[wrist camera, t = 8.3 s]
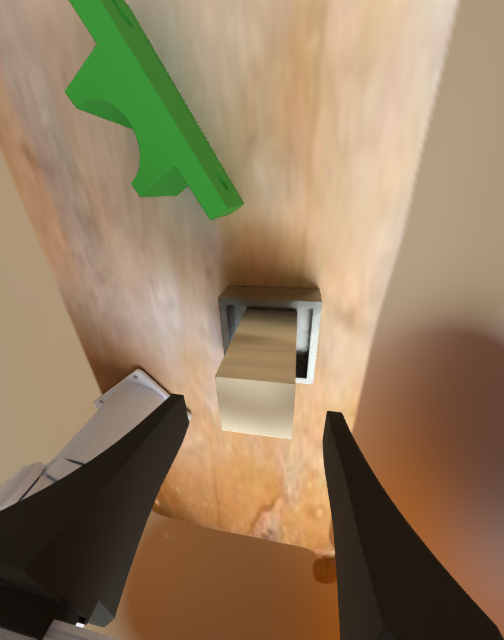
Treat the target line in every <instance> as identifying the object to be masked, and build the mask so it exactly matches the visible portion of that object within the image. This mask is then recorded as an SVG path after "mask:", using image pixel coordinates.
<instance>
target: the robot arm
mask: <svg viewBox="0 0 504 640" xmlns="http://www.w3.org/2000/svg"><path fill="white" fill-rule="evenodd" d="M94 405H95V406H96V407H97V408H98V409H99V410H98V411H97V412H96V413H95V414H94V415H93V416H92V417H91V418H90V419H89V420H88V422H87V423H86V424H85V425H84V426H83V427H82V428H81V429H80V430H79V431H78V432H77V434H76V435H75V436H74V437H73V438H72V439H71V440H70V441H69V442H68V443H67V444H66V445H65V446H64V447H63V449H62V450H61V451H60V452H59V453H58V454H57V455H56V456H55V457H54V458H53V459H52V461H51V462H49V463H48V464H46V465H44V464H42V463H41V462H36V463H34V464H29V465H25V466H23V467H22V468H20V469H19V470H18V471H17V472H15V473H14V474H13V475H12V476H11V477H10V478H9V479H7V480H6V481H5V482H4V483H3V484H2V485H1V486H0V640H121V639H117V638H114V637H110V636H107V635H104V634H101V633H98V632H94V631H91V630H88V629H84V628H83V626H84V625H86V624H87V623H90V624H93V625H97V626H100V627H105V626H106V625H108V624H109V623H110V622H111V621H112V620H113V619H114V618H115V615H116V611H117V608H118V605H119V602H120V599H121V595H122V592H123V589H124V586H125V583H126V579H127V576H128V573H129V570H130V567H131V564H132V562H133V559H134V556H135V553H136V550H137V547H138V544H139V541H140V539H141V536H142V533H143V530H144V528H145V525H146V522H147V519H148V517H149V514H150V512H151V509H152V507H153V504H154V501H155V499H156V496H157V494H158V492H159V490H160V487H161V485H162V483H163V481H164V479H165V477H166V475H167V473H168V471H169V469H170V467H171V465H172V463H173V461H174V459H175V457H176V455H177V453H178V451H179V449H180V446H181V444H182V442H183V439H184V437H185V434H186V431H187V428H188V425H189V420H190V419H191V417H192V415H191V414H190V413H189V412H188V411H187V409H186V404H185V400H184V395H179V394H172V395H171V396H170V395H169V394H168V393H167V392H166V391H165V390H164V389H162V388H161V387H160V386H159V385H158V384H157V383H156V382H155V381H154V380H152V379H151V378H150V377H149V376H148V375H147V374H146V373H145V372H144V371H142V370H141V369H136V370H135V371H134V372H132V373H131V374H130V375H128V376H127V377H126V378H124V379H123V380H122V381H120V382H119V383H118V384H116V385H115V386H114V387H112V388H111V389H110V390H108V391H107V392H106V393H104V394H103V395H102V396H100V397H99V398H98V399H97V400H95V401H94ZM323 458H324V468H325V475H326V481H327V488H328V494H329V501H330V508H331V514H332V522H333V530H334V543H335V557H336V572H337V586H338V587H337V588H338V604H339V622H340V640H504V639H503V637H502V635H501V633H500V631H499V629H498V627H497V626H496V625H495V624H494V623H493V622H492V620H491V619H490V618H489V617H488V616H487V615H486V614H485V613H484V612H483V611H482V610H481V609H480V607H478V605H477V604H476V603H475V602H474V601H473V600H472V599H471V598H470V596H469V595H468V594H467V593H466V592H465V591H464V590H463V589H462V587H461V586H460V585H459V584H458V583H457V582H456V581H455V580H454V578H453V577H452V576H451V575H450V574H449V573H448V571H447V570H446V569H445V568H444V567H443V566H442V564H441V563H440V562H439V561H438V560H437V559H436V557H435V556H434V555H433V554H432V552H431V551H430V550H429V549H428V547H427V546H426V545H425V544H424V542H423V541H422V540H421V539H420V537H419V536H418V535H417V534H416V532H415V531H414V530H413V529H412V527H411V526H410V525H409V523H408V522H407V521H406V519H405V518H404V517H403V516H402V514H401V513H400V511H399V510H398V509H397V507H396V506H395V504H394V503H393V502H392V500H391V499H390V497H389V496H388V495H387V493H386V492H385V490H384V488H383V487H382V485H381V484H380V482H379V481H378V479H377V478H376V476H375V474H374V473H373V471H372V470H371V468H370V466H369V465H368V463H367V461H366V459H365V458H364V456H363V454H362V452H361V451H360V449H359V447H358V445H357V443H356V442H355V440H354V438H353V436H352V434H351V432H350V430H349V427H348V425H347V423H346V421H345V419H344V416H343V414H342V413H341V412H332V411H327V415H326V421H325V428H324V434H323Z"/></svg>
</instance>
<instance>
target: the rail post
mask: <svg viewBox="0 0 504 640" xmlns="http://www.w3.org/2000/svg"><path fill="white" fill-rule="evenodd" d="M296 342H297V312H292V311H269V310H247V309H246V310H245V313H244V315H243V317H242V319H241V321H240V323H239V326H238V328H237V330H236V332H235V334H234V336H233V339H232V341H231V343H230V345H229V347H228V349H227V352H226V354H225V356H224V358H223V360H222V362H221V365H220V367H219V369H218V371H217V373H216V375H215V381H216V388H217V396H218V403H219V411H220V418H221V426H222V430H225V431H232V432H239V433H247V434H254V435H262V436H269V437H277V438H284V439H292V428H293V413H294V398H295V380H296Z"/></svg>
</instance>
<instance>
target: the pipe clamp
mask: <svg viewBox="0 0 504 640" xmlns="http://www.w3.org/2000/svg"><path fill="white" fill-rule="evenodd" d="M69 1H70V3H71V4H72V6H73V8H74V9H75V11H76V12H77V14H78V15H79V17H80V18H81V20H82V22H83V23H84V25H85V26H86V28H87V29H88V31H89V32H90V34H91V35H92V37H93V39H94V40H95V42H96V43H97V45H96V47H95V48H94V49H93V51H92V52H91V54H90V55H89V57H88V58H87V60H86V61H85V63H84V64H83V66H82V67H81V68H80V70H79V71H78V73H77V74H76V76H75V77H74V79H73V80H72V82H71V83H70V84H69V86H68V87H67V89H66V90H65V93H66V94H67V96H68V97H69V98H70V100H71V101H72V103H73V104H74V105H75V107H76V108H77V109H80V110H82V111H85V112H88V113H90V114H93V115H96V116H98V117H101V118H104V119H106V120H109V121H112V122H115V123H117V124H120V125H123V126H125V127H128V128H131V129H132V128H133V130H134V132H135V134H136V137H137V140H138V144H139V150H140V165H139V170H138V173H137V175H136V177H135V179H134V180H133V182H132V183H131V185H132V186H133V187H134V189H135V190H136V192H137V193H138V194H139V196H140V197H155V196H177V195H178V194H179V193H180V192H181V191H183V190H184V189H185V188H186V187H187V186H189V188H190V189H191V191H192V192H193V194H194V195H195V197H196V198H197V200H198V202H199V203H200V205H201V206H202V208H203V209H204V211H205V212H206V214H207V216H208V217H209V219H210V220H213V219H216V218H219V217H222V216H225V215H228V214H231V213H232V212H234V211H235V210H237V209H238V208H239V207H241V206H242V205H243V204H244V203H243V201H242V199H241V198H240V196H239V194H238V193H237V191H236V189H235V188H234V186H233V184H232V182H231V181H230V179H229V177H228V176H227V174H226V172H225V170H224V169H223V167H222V165H221V164H220V162H219V160H218V158H217V157H216V155H215V153H214V152H213V150H212V148H211V146H210V145H209V143H208V141H207V140H206V138H205V136H204V134H203V133H202V131H201V129H200V128H199V126H198V124H197V122H196V121H195V119H194V117H193V116H192V114H191V112H190V110H189V109H188V107H187V105H186V104H185V102H184V100H183V98H182V97H181V95H180V93H179V92H178V90H177V88H176V86H175V85H174V83H173V81H172V80H171V78H170V76H169V74H168V73H167V71H166V69H165V68H164V66H163V64H162V62H161V61H160V59H159V57H158V56H157V54H156V52H155V50H154V49H153V47H152V45H151V44H150V42H149V40H148V38H147V37H146V35H145V33H144V32H143V30H142V28H141V26H140V25H139V23H138V21H137V20H136V18H135V16H134V14H133V13H132V11H131V9H130V8H129V6H128V5H127V3H126V2H125V1H124V0H69Z"/></svg>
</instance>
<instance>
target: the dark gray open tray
mask: <svg viewBox="0 0 504 640" xmlns="http://www.w3.org/2000/svg"><path fill="white" fill-rule="evenodd" d="M218 300H219V310H220V319H221V329H222V339H223V348H224V356H225V354H226V352H227V349H228V347H229V345H230V343H231V341H232V339H233V336H234V334H235V332H236V330H237V328H238V326H239V323H240V321H241V319H242V317H243V315H244V313H245V310H246V309H247V310H269V311H292V312H297V342H296V380H295V383H304V384H313V379H314V370H315V361H316V352H317V343H318V334H319V325H320V316H321V307H322V299H321V294H320V289H318V288H284V287H251V286H227V287H226V289H225V290H224V291H223V292H222V294H221V295H220V296H219V298H218Z"/></svg>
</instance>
